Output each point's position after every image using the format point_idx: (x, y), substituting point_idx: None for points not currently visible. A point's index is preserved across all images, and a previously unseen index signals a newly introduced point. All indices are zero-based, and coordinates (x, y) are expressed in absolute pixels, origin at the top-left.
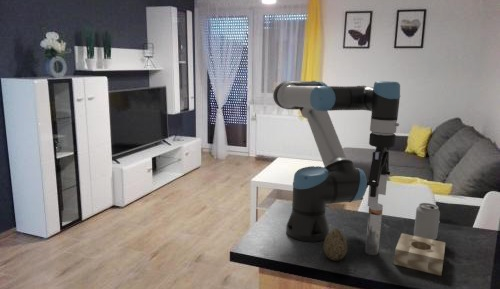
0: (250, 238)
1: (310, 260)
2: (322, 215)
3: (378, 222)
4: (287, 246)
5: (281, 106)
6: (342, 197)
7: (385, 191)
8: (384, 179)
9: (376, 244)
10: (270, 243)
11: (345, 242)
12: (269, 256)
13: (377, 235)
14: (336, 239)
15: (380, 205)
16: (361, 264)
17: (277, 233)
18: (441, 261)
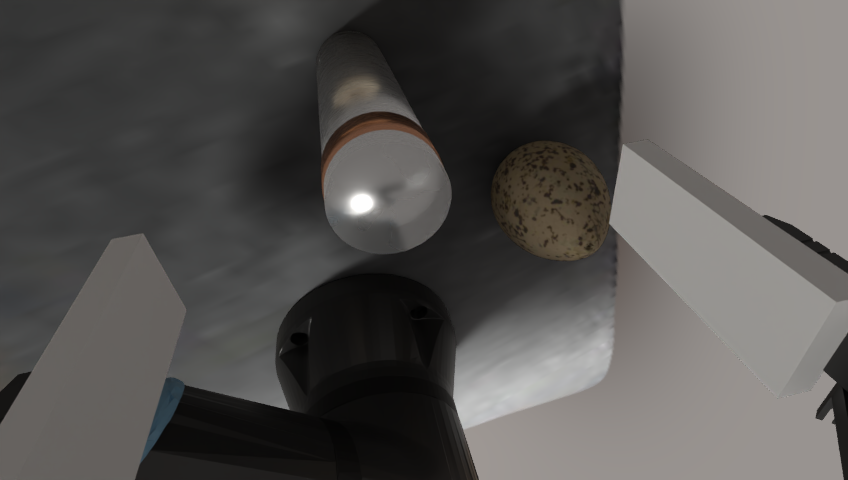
0: (519, 403)
1: None
2: (389, 370)
3: (400, 99)
4: (511, 321)
5: None
6: (285, 424)
7: (125, 263)
8: (71, 436)
9: (376, 52)
10: (519, 359)
11: (572, 170)
12: (600, 316)
13: (383, 67)
14: (609, 207)
15: (372, 167)
16: (508, 59)
17: None
18: None
